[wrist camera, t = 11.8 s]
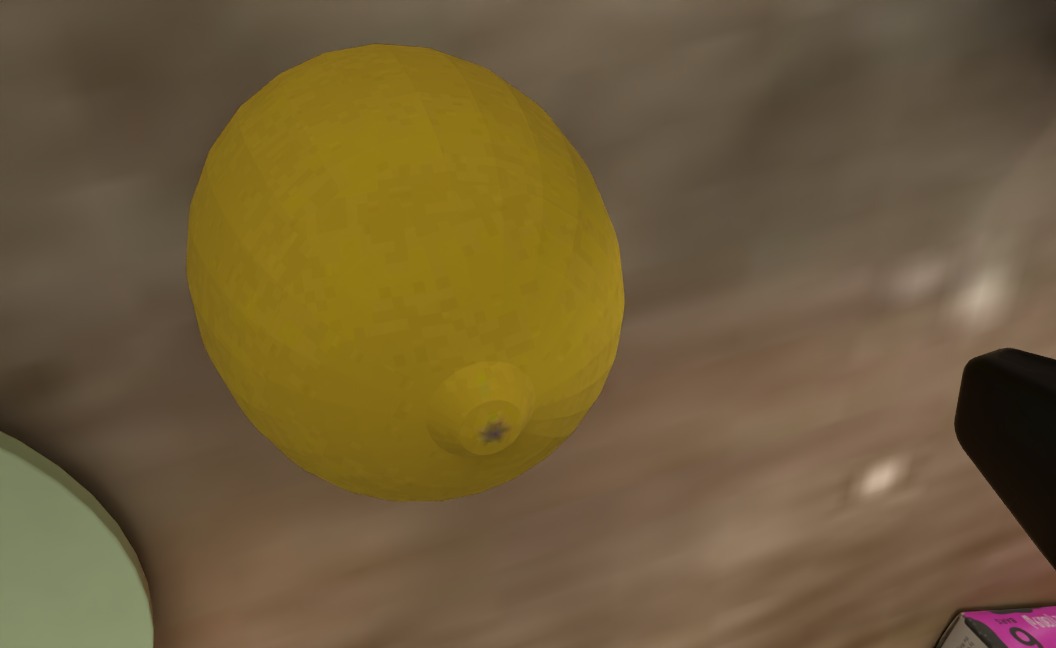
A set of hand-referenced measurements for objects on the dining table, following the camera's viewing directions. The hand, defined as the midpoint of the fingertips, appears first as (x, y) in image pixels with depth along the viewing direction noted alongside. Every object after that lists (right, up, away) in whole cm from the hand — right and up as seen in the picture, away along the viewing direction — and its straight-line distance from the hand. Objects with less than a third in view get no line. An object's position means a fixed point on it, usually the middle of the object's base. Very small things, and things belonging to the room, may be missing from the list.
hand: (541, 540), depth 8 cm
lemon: (-3, +5, +8) cm, 10 cm away
